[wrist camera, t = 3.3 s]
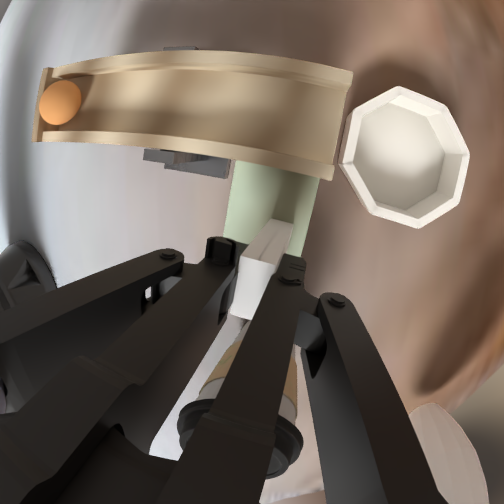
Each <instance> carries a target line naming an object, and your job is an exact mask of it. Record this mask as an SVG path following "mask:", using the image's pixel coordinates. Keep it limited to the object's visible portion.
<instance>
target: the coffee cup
mask: <svg viewBox="0 0 504 504" xmlns="http://www.w3.org/2000/svg"><path fill="white" fill-rule="evenodd" d="M250 322H251V320H250V321H248V322H247V323H246V324H245V325H244V327H243V328H242V330H241V331H240V333H239V335H238V336H237V338H236V339H235V341H234V342H233V344H232V345H231V346H230V347H229V348H228V349H227V350H226V352H225V353H224V355H223V356H222V358H221V359H220V361H219V362H218V364H217V366H216V367H215V369H214V370H213V372H212V373H211V375H210V376H209V378H208V379H207V381H206V382H205V384H204V385H203V387H202V388H201V390H200V392H199V396H198V398H197V399H196V401H194V402H191V403H189V404H187V405H186V406H184V407H183V408H182V410H181V411H180V414H179V419H178V421H177V430H178V433H179V435H180V439H179V442H180V446H181V448H182V450H183V451H184V449H185V447H186V445H187V443H188V441H189V439H190V437H191V435H192V433H193V431H194V429H195V427H196V425H197V423H198V422H199V420H200V418H201V416H202V415H203V414H204V413H208V412H209V410H210V408H211V406H212V404H213V402H214V400H215V398H216V396H217V394H218V392H219V390H220V387H221V385H222V383H223V381H224V379H225V377H226V375H227V373H228V370H229V368H230V366H231V364H232V362H233V360H234V358H235V355H236V353H237V351H238V349H239V347H240V345H241V342H242V340H243V338H244V336H245V334H246V331H247V329H248V327H249V325H250ZM296 417H297V365H296V362H295V344H293V349H292V354H291V359H290V363H289V368H288V373H287V378H286V382H285V387H284V391H283V396H282V400H281V404H280V409H279V413H278V417H277V421H276V425H275V429H274V434H276V439H275V444H274V449H273V452H272V456H271V460H270V464H269V468H268V471H267V475H266V479H271V478H275V477H278V476H280V475H282V474H283V473H284V472H285V471H286V470H287V469H288V467H289V465H291V464H293V463H294V462H295V461H296V460H297V459H298V457H299V455H300V452H301V450H302V448H303V437H302V435H301V433H300V431H299V430H298V429H297V427H296V426H295V420H296Z"/></svg>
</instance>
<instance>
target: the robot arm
mask: <svg viewBox="0 0 504 504" xmlns="http://www.w3.org/2000/svg"><path fill="white" fill-rule="evenodd" d="M293 225H294V224H292V223H288V222H284V221H280V220H276V219H272V218H271V219H270V220H269V221H268V222H267V224H266V225H265V226H264V227H263V228H262V230H261V231H260V232H259V233H258V235H257V236H256V237H255V238H254V240H253V241H252V242H251V243H250V244H245V243H241V242H237V241H235V240H233V239H230V238H226V237H217V236H216V237H210V238H208V239H207V245H206V253H205V258H204V259H203V260H202V261H200V262H199V263H198V264H189V263H184V255H183V254H182V253H181V252H179V251H176V250H174V249H170V248H166V249H160V250H156V251H153V252H150V253H148V254H145V255H142V256H140V257H137V258H134V259H132V260H129V261H126V262H124V263H121V264H118V265H116V266H113V267H110V268H108V269H105V270H103V271H100V272H97V273H95V274H92V275H90V276H87V277H85V278H82V279H80V280H77V281H74V282H72V283H69V284H67V285H65V286H62V287H60V288H57V289H56V286H55V283H54V280H53V278H52V275H51V273H50V271H49V269H48V267H47V265H46V263H45V262H44V260H43V259H42V257H41V256H40V254H39V253H38V252H37V251H36V249H35V248H34V247H33V246H31V245H30V244H29V243H27V242H25V241H18V242H16V243H14V244H11V245H9V246H8V247H7V248H6V249H5V250H4V251H3V252H2V253H1V254H0V504H260V503H259V500H260V496H261V493H262V489H263V486H264V482H265V479H266V475H267V471H268V468H269V464H270V460H271V456H272V452H273V449H274V444H275V439H276V434H274V429H275V425H276V421H277V417H278V413H279V409H280V404H281V400H282V396H283V391H284V387H285V382H286V378H287V373H288V368H289V363H290V359H291V354H292V349H293V344H296V345H298V346H300V347H302V348H301V353H300V354H301V359H302V364H303V369H304V374H305V380H306V385H307V390H308V396H309V401H310V406H311V412H312V417H313V423H314V429H315V434H316V440H317V446H318V452H319V458H320V464H321V470H322V476H323V483H324V489H325V495H326V503H327V504H449V503H448V502H447V501H446V500H445V499H444V497H443V496H442V495H441V494H440V492H439V491H438V489H437V486H436V483H435V481H434V478H433V475H432V472H431V470H430V467H429V465H428V462H427V459H426V457H425V454H424V452H423V449H422V447H421V444H420V442H419V440H418V437H417V435H416V432H415V430H414V428H413V425H412V423H411V421H410V418H409V416H408V414H407V412H406V409H405V407H404V405H403V403H402V401H401V398H400V396H399V394H398V392H397V390H396V388H395V385H394V383H393V381H392V379H391V377H390V375H389V373H388V371H387V369H386V367H385V365H384V363H383V361H382V359H381V357H380V355H379V353H378V351H377V349H376V347H375V345H374V343H373V341H372V339H371V337H370V335H369V333H368V331H367V329H366V327H365V326H364V324H363V322H362V320H361V318H360V316H359V314H358V312H357V311H356V309H355V307H354V305H353V303H352V302H351V301H350V300H349V299H347V298H346V297H345V296H343V295H341V294H338V293H323V294H322V295H321V296H320V298H319V299H318V298H316V297H314V296H312V295H310V294H309V293H307V292H306V291H305V290H304V282H303V280H304V274H305V269H306V262H305V260H304V259H303V258H301V257H297V256H293V255H290V254H287V250H288V246H289V242H290V238H291V234H292V229H293ZM149 287H151V297H149V298H147V299H146V297H145V290H146V289H147V288H149ZM231 304H232V305H231ZM230 306H231V310H230V314H232V315H235V316H238V317H242V318H245V319H249V320H251V322H250V325H249V327H248V329H247V331H246V334H245V336H244V338H243V340H242V342H241V345H240V347H239V349H238V351H237V353H236V355H235V358H234V360H233V362H232V364H231V366H230V368H229V370H228V373H227V375H226V377H225V379H224V381H223V383H222V385H221V387H220V390H219V392H218V394H217V396H216V398H215V400H214V402H213V404H212V406H211V408H210V410H209V412H208V413H204V414H203V415H202V416H201V418H200V420H199V422H198V423H197V425H196V427H195V429H194V431H193V433H192V435H191V437H190V439H189V441H188V443H187V445H186V447H185V449H184V451H183V452H182V454H181V456H180V458H179V460H178V461H176V460H170V459H165V458H161V457H156V456H152V455H149V451H150V446H151V444H152V441H153V439H154V437H155V436H156V434H157V433H158V431H159V429H160V428H161V426H162V425H163V423H164V421H165V420H166V418H167V417H168V415H169V413H170V412H171V410H172V408H173V407H174V405H175V404H176V402H177V400H178V399H179V397H180V395H181V394H182V392H183V391H184V389H185V387H186V386H187V384H188V382H189V381H190V379H191V378H192V376H193V374H194V373H195V371H196V369H197V368H198V366H199V364H200V363H201V361H202V359H203V358H204V356H205V354H206V353H207V351H208V349H209V348H210V346H211V345H212V343H213V341H214V340H215V338H216V336H217V335H218V333H219V331H220V330H221V328H222V326H223V325H224V323H225V321H226V319H227V314H228V309H229V308H230Z"/></svg>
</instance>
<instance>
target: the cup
mask: <svg viewBox="0 0 504 504" xmlns="http://www.w3.org/2000/svg"><path fill="white" fill-rule="evenodd" d="M408 416H409V418H410V421H411V423H412V425H413V428H414V430H415V432H416V435H417V437H418V440H419V442H420V444H421V447H422V449H423V452H424V454H425V457H426V459H427V462H428V465H429V467H430V470H431V472H432V475H433V478H434V481H435V483H436V486H437V489H438V491H439V492H440V494H441V495H442V496H443V497H444V499H445V500H446V501H447V502H448V503H449V504H489V499H488V492H487V486H486V480H485V477H484V474H483V471H482V468H481V465H480V462H479V459H478V456H477V453H476V450H475V449H474V447H473V445H472V444H471V442H470V441H469V439H468V437H467V436H466V434H465V433H464V431H463V430H462V428H461V427H460V425H459V424H458V423H456V421H455V420H454V419H453V418H452V417H451V415H450V414H449V413H448V412H446V411H445V410H444V409H443V408H442V407H440V406H439V405H438V404H437V403H427V404H424V405H421V406H419V407H417V408H416V409H414V410H413V411H412V412H411V413H410V414H409V415H408Z"/></svg>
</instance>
